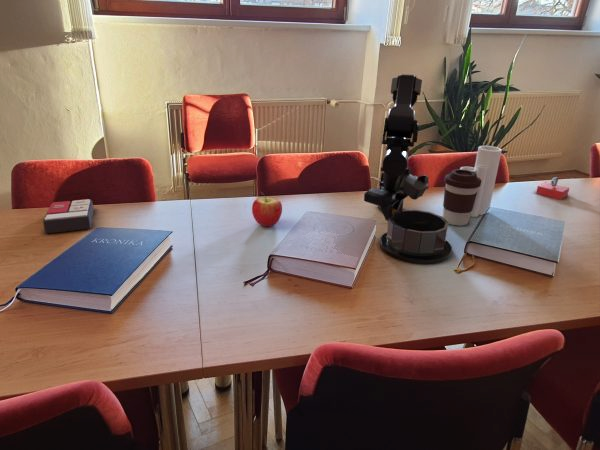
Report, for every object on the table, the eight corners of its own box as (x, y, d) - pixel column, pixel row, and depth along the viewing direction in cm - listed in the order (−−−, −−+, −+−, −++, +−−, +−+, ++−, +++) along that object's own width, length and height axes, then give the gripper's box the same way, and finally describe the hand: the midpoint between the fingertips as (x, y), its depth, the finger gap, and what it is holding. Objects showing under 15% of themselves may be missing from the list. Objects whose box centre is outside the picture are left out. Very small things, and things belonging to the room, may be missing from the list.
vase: (478, 205, 143) (490, 145, 135) (494, 214, 137) (508, 150, 129) (449, 209, 139) (460, 147, 131) (464, 218, 133) (477, 153, 125)
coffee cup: (475, 229, 126) (485, 179, 120) (439, 226, 128) (447, 176, 121) (470, 216, 135) (479, 169, 129) (436, 213, 136) (444, 166, 130)
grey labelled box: (91, 197, 131) (88, 213, 118) (94, 211, 133) (90, 228, 120) (50, 201, 128) (41, 218, 115) (53, 215, 129) (45, 233, 116)
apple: (249, 220, 128) (248, 187, 124) (277, 217, 131) (277, 185, 127) (255, 231, 121) (255, 197, 117) (285, 228, 123) (286, 194, 119)
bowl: (367, 235, 118) (369, 213, 115) (403, 223, 126) (406, 202, 123) (419, 262, 105) (423, 237, 102) (455, 246, 113) (460, 223, 110)
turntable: (366, 238, 119) (367, 234, 118) (421, 228, 126) (422, 224, 125) (406, 269, 104) (407, 265, 103) (466, 257, 110) (467, 252, 110)
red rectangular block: (535, 193, 156) (540, 176, 153) (543, 189, 160) (547, 172, 157) (560, 199, 150) (565, 182, 148) (567, 195, 154) (572, 178, 152)
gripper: (404, 180, 102) (397, 240, 108) (442, 162, 114) (434, 217, 121) (364, 169, 108) (360, 226, 115) (404, 153, 121) (398, 206, 127)
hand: (390, 219), depth 119 cm, fingers closed on bowl, 2 cm apart
